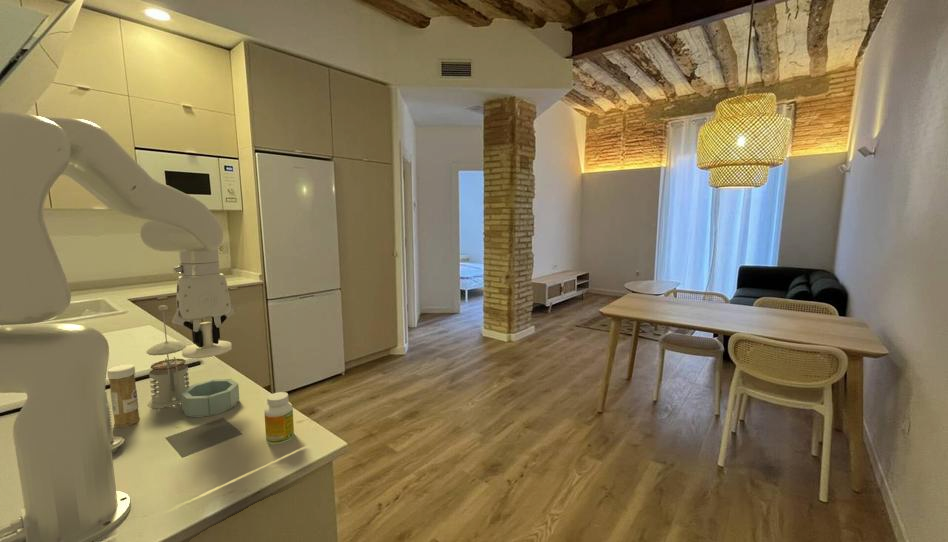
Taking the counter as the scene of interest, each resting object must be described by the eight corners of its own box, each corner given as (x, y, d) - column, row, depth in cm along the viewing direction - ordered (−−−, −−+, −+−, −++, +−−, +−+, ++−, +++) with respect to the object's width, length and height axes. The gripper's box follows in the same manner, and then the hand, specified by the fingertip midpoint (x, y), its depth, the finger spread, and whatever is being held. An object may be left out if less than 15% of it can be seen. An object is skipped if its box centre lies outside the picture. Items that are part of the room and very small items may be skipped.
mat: (182, 459, 77) (182, 457, 76) (165, 439, 83) (165, 437, 83) (243, 435, 85) (242, 433, 85) (223, 419, 92) (223, 417, 92)
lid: (190, 361, 88) (187, 331, 87) (176, 351, 95) (173, 323, 94) (238, 350, 96) (236, 322, 95) (222, 341, 102) (220, 315, 101)
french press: (191, 387, 108) (183, 299, 105) (200, 401, 100) (192, 306, 97) (145, 399, 101) (135, 304, 98) (150, 415, 93) (140, 312, 90)
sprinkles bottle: (138, 425, 89) (132, 368, 87) (111, 431, 86) (104, 372, 84) (141, 416, 93) (135, 362, 91) (116, 422, 90) (109, 366, 88)
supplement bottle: (290, 444, 82) (287, 400, 81) (262, 447, 81) (259, 402, 80) (296, 431, 87) (294, 389, 86) (270, 433, 86) (268, 391, 85)
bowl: (193, 423, 90) (191, 402, 89) (178, 408, 96) (176, 389, 96) (245, 405, 98) (243, 387, 98) (227, 393, 105) (226, 375, 104)
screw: (128, 444, 81) (121, 456, 77) (97, 450, 79) (88, 463, 75) (121, 384, 80) (113, 394, 75) (89, 389, 77) (79, 399, 73)
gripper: (163, 275, 84) (171, 357, 87) (244, 267, 97) (249, 339, 99) (153, 271, 89) (161, 349, 91) (231, 265, 101) (237, 333, 104)
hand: (207, 343), depth 95 cm, fingers closed on lid, 2 cm apart
